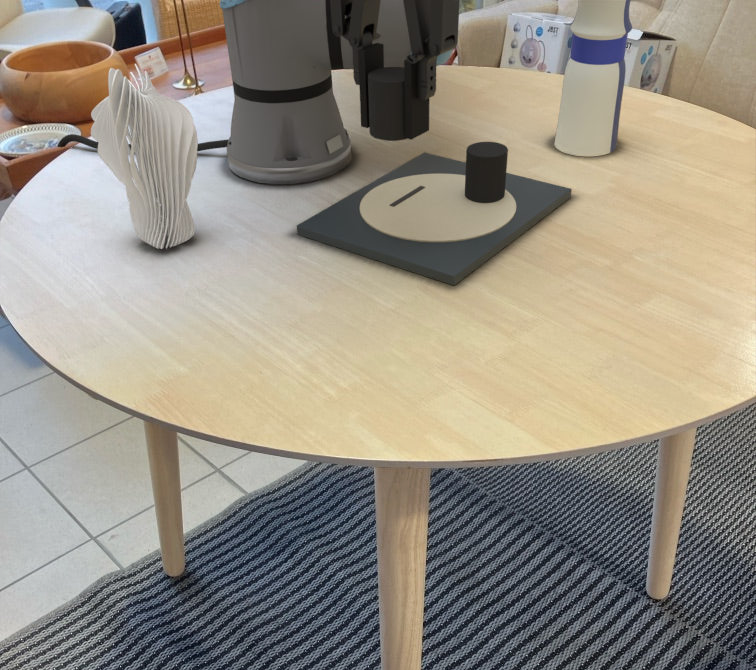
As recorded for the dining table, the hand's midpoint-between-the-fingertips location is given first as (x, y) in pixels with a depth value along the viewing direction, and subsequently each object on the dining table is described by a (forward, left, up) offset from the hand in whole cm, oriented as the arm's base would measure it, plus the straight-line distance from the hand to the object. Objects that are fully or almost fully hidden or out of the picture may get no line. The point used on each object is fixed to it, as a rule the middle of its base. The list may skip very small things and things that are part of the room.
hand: (394, 127), depth 79 cm
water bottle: (+2, +37, -13) cm, 39 cm away
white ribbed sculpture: (-23, -11, -13) cm, 28 cm away
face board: (-2, +10, -13) cm, 16 cm away
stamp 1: (0, 0, 0) cm, 0 cm away
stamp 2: (+1, +15, -11) cm, 19 cm away
